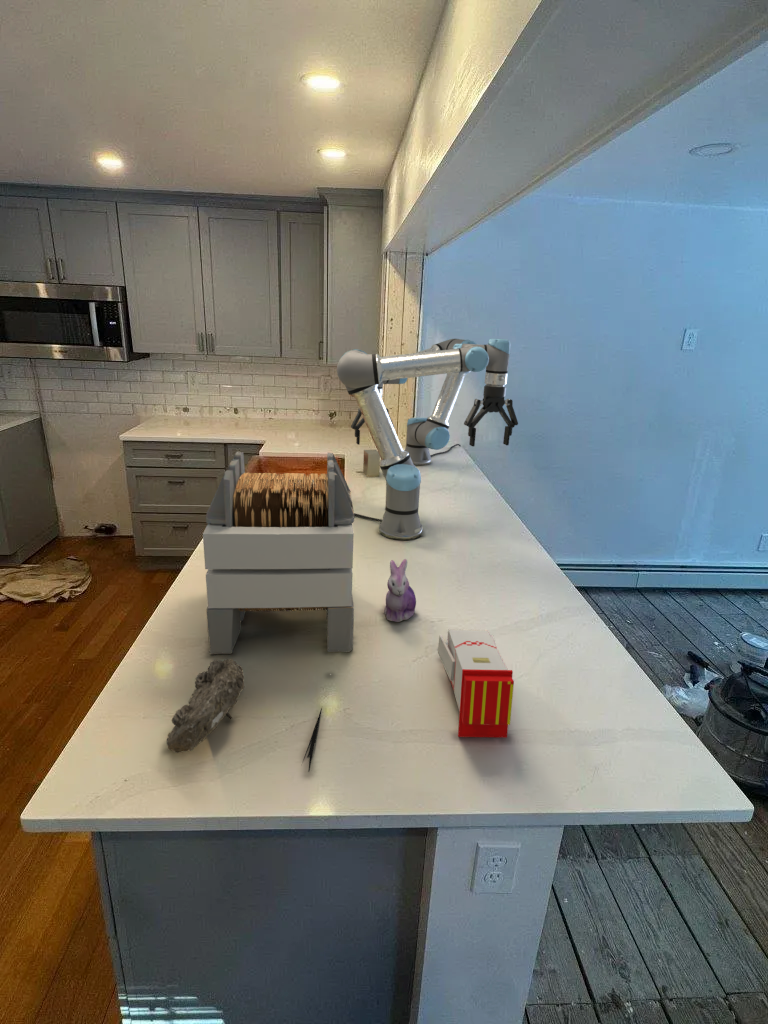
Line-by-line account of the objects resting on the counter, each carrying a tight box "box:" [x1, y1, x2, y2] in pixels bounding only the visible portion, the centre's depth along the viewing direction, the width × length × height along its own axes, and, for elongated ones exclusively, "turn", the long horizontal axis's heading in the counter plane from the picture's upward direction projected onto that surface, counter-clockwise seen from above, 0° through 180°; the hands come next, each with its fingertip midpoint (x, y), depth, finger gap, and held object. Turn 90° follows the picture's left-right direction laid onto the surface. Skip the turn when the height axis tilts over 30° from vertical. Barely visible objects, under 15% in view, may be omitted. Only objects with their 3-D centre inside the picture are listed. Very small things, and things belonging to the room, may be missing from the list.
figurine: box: [384, 558, 417, 623], centre depth 145 cm, size 9×10×15 cm
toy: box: [437, 628, 515, 738], centre depth 117 cm, size 12×13×30 cm
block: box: [362, 449, 381, 478], centre depth 267 cm, size 6×7×11 cm
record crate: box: [202, 451, 355, 655], centre depth 137 cm, size 34×33×41 cm
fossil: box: [166, 658, 245, 754], centre depth 106 cm, size 22×10×15 cm
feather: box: [301, 673, 332, 771], centre depth 108 cm, size 2×28×2 cm
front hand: (488, 445), depth 205 cm, fingers open, 13 cm apart
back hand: (371, 443), depth 264 cm, fingers open, 13 cm apart
